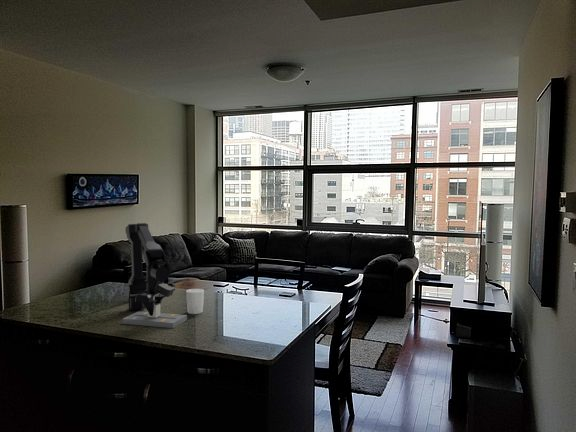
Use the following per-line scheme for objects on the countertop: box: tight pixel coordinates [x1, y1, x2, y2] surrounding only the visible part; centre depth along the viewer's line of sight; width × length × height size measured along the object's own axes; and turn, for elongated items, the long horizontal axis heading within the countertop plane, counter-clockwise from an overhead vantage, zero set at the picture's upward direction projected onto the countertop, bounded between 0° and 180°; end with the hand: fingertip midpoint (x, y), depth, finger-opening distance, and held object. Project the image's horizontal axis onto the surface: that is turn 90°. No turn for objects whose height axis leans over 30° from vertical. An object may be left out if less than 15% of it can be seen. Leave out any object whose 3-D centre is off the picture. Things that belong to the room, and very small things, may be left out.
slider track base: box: [121, 310, 188, 329], centre depth 182 cm, size 23×12×2 cm, turn 76°
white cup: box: [185, 288, 205, 315], centre depth 197 cm, size 8×8×10 cm
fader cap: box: [146, 303, 161, 318], centre depth 182 cm, size 4×4×5 cm
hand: (153, 314), depth 182 cm, fingers closed on fader cap, 3 cm apart
